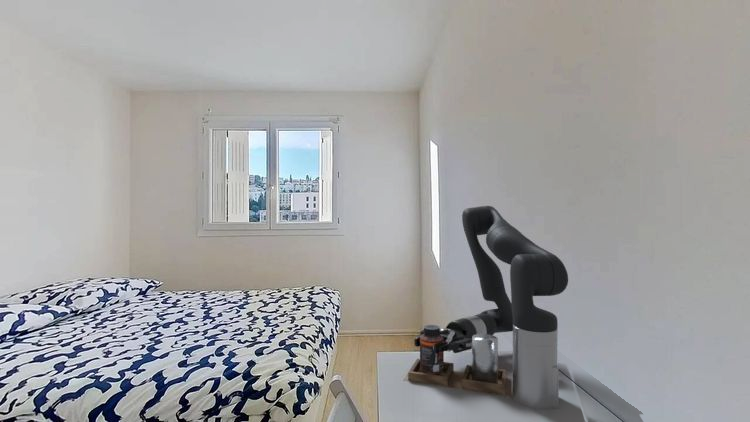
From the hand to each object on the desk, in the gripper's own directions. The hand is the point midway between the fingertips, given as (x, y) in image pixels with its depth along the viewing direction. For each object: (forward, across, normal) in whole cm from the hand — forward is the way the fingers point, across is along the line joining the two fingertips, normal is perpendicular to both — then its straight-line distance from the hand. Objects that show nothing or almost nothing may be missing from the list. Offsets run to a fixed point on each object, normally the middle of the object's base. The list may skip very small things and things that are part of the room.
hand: (425, 346), depth 98 cm
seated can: (-9, +11, +8) cm, 16 cm away
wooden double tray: (-5, +6, +9) cm, 12 cm away
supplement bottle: (-2, 0, +7) cm, 8 cm away
